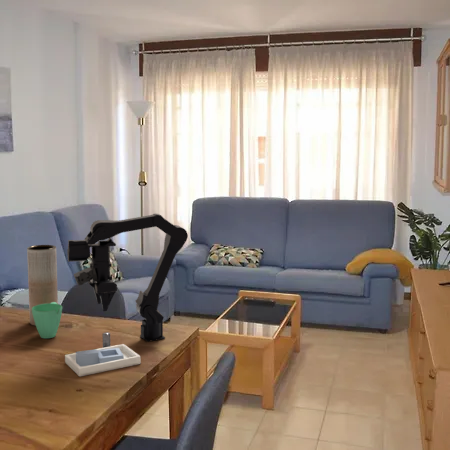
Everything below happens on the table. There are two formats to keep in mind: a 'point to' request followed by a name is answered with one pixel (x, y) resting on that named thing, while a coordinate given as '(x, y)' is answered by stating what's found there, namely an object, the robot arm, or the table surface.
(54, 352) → the table surface
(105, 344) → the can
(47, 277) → the vase
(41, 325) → the mug
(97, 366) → the tray
